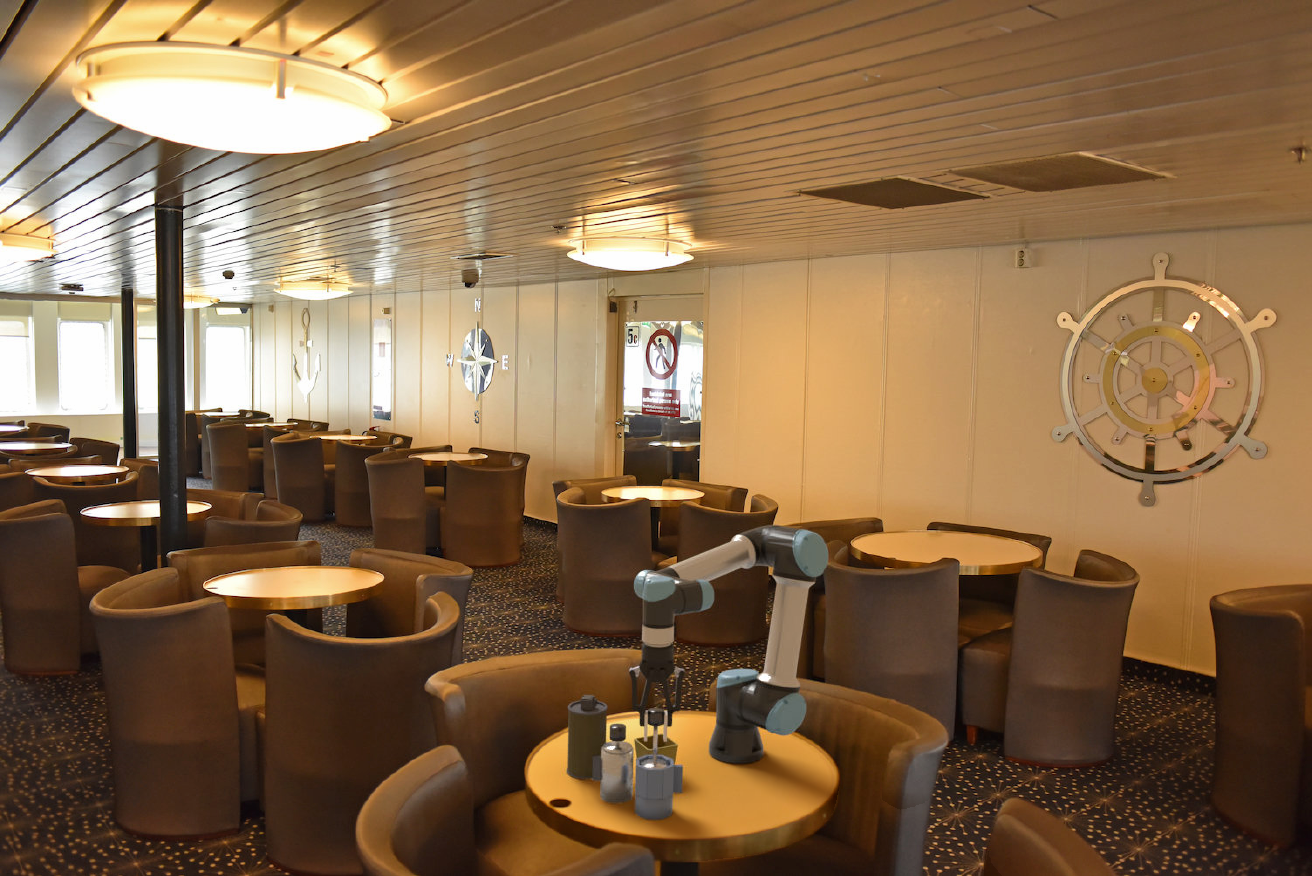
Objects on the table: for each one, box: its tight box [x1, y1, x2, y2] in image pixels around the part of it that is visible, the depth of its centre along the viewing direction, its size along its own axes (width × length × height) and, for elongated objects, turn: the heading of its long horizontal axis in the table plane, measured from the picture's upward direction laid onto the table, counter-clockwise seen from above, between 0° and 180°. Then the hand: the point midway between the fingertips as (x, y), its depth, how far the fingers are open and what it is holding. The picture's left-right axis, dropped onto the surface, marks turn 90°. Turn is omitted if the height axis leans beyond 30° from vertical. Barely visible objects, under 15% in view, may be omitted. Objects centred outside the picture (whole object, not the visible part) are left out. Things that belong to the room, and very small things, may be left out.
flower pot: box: [633, 733, 679, 765], centre depth 246 cm, size 9×9×9 cm
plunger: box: [641, 707, 669, 769], centre depth 224 cm, size 7×7×14 cm
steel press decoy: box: [591, 723, 635, 804], centre depth 233 cm, size 10×8×18 cm
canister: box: [566, 694, 608, 780], centre depth 247 cm, size 11×10×20 cm
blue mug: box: [634, 755, 684, 821], centre depth 225 cm, size 11×9×12 cm
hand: (655, 739), depth 224 cm, fingers closed on plunger, 4 cm apart
